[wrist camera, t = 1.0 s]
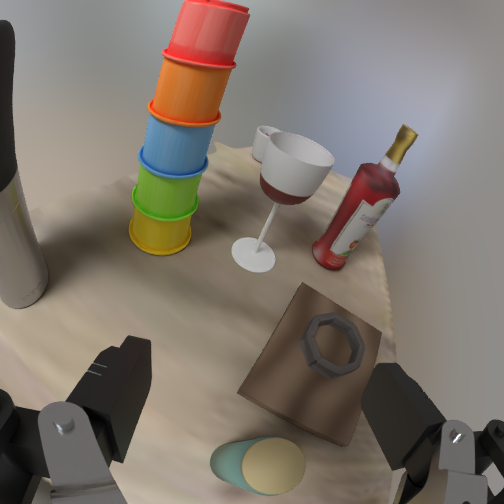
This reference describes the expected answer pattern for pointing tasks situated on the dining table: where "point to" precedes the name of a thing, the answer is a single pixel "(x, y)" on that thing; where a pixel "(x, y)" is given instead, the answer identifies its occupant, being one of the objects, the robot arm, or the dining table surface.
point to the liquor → (363, 204)
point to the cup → (262, 141)
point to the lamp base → (315, 367)
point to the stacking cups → (183, 122)
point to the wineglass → (283, 189)
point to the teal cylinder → (260, 465)
